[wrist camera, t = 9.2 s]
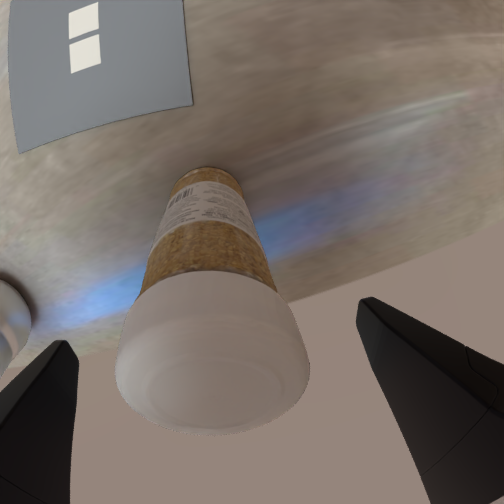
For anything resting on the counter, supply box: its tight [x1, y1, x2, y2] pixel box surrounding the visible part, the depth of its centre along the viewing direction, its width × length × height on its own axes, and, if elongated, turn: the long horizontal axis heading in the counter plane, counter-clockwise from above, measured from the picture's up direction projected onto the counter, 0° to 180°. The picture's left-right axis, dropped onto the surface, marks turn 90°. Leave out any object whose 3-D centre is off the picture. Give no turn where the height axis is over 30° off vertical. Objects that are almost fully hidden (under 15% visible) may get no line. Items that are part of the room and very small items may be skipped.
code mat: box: [8, 0, 193, 154], centre depth 11 cm, size 12×12×1 cm
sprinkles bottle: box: [115, 167, 310, 435], centre depth 12 cm, size 5×5×14 cm
